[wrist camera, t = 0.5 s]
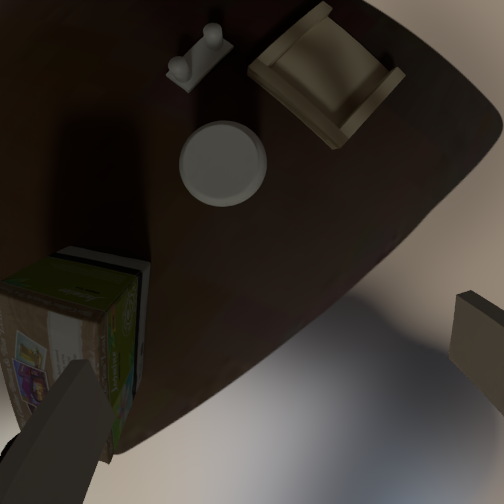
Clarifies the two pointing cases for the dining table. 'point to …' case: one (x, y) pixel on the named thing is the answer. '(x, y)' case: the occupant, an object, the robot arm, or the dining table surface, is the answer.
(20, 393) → the tea box
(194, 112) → the dining table surface
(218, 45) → the clip
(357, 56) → the square tray
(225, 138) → the pill bottle
